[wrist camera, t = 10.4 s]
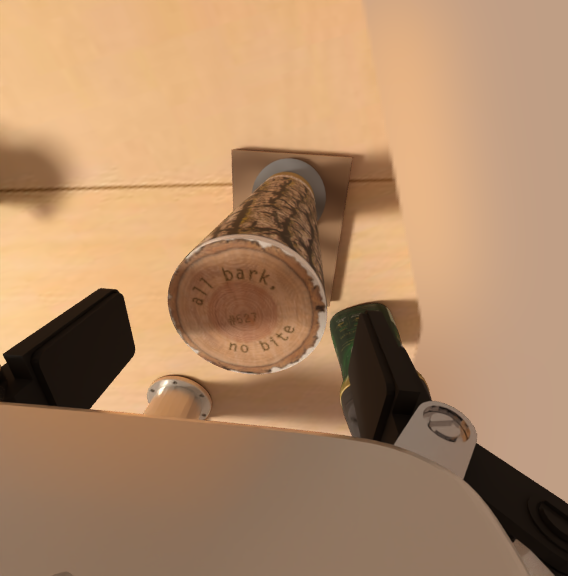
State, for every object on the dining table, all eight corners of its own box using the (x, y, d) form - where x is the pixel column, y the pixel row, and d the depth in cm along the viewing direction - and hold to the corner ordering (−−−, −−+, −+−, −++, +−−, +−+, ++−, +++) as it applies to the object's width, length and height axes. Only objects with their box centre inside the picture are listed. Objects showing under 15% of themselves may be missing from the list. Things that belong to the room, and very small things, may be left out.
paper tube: (253, 177, 33) (140, 252, 11) (310, 165, 32) (315, 223, 10) (265, 232, 36) (198, 380, 14) (318, 223, 35) (335, 368, 13)
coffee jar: (337, 349, 47) (353, 461, 30) (324, 311, 43) (335, 413, 27) (396, 336, 45) (448, 450, 28) (388, 295, 41) (441, 396, 25)
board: (328, 301, 42) (329, 309, 40) (238, 293, 43) (234, 300, 41) (350, 156, 33) (353, 157, 31) (234, 149, 34) (229, 149, 32)
